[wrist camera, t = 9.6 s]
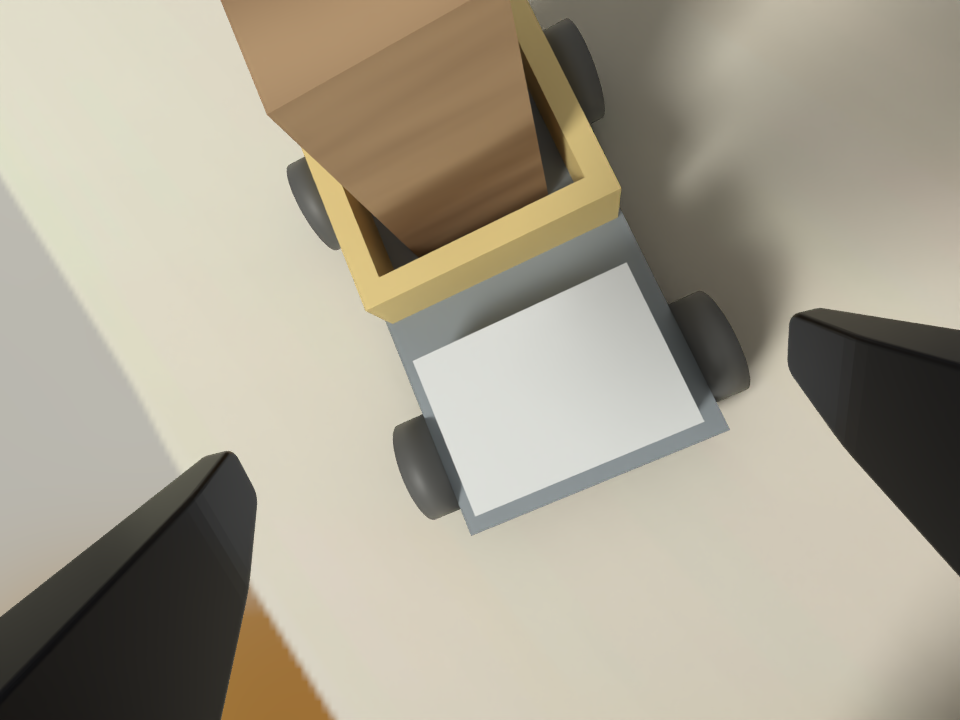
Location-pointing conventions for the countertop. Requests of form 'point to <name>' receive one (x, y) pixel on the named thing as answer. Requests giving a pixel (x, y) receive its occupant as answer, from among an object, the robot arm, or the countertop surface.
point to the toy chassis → (535, 321)
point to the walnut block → (402, 105)
